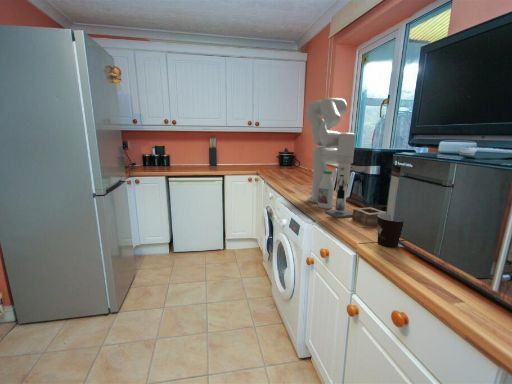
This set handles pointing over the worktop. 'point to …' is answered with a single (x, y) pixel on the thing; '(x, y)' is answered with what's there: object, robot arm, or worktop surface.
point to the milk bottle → (326, 191)
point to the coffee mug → (388, 231)
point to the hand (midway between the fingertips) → (341, 197)
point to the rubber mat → (339, 213)
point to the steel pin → (341, 200)
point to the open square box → (367, 215)
